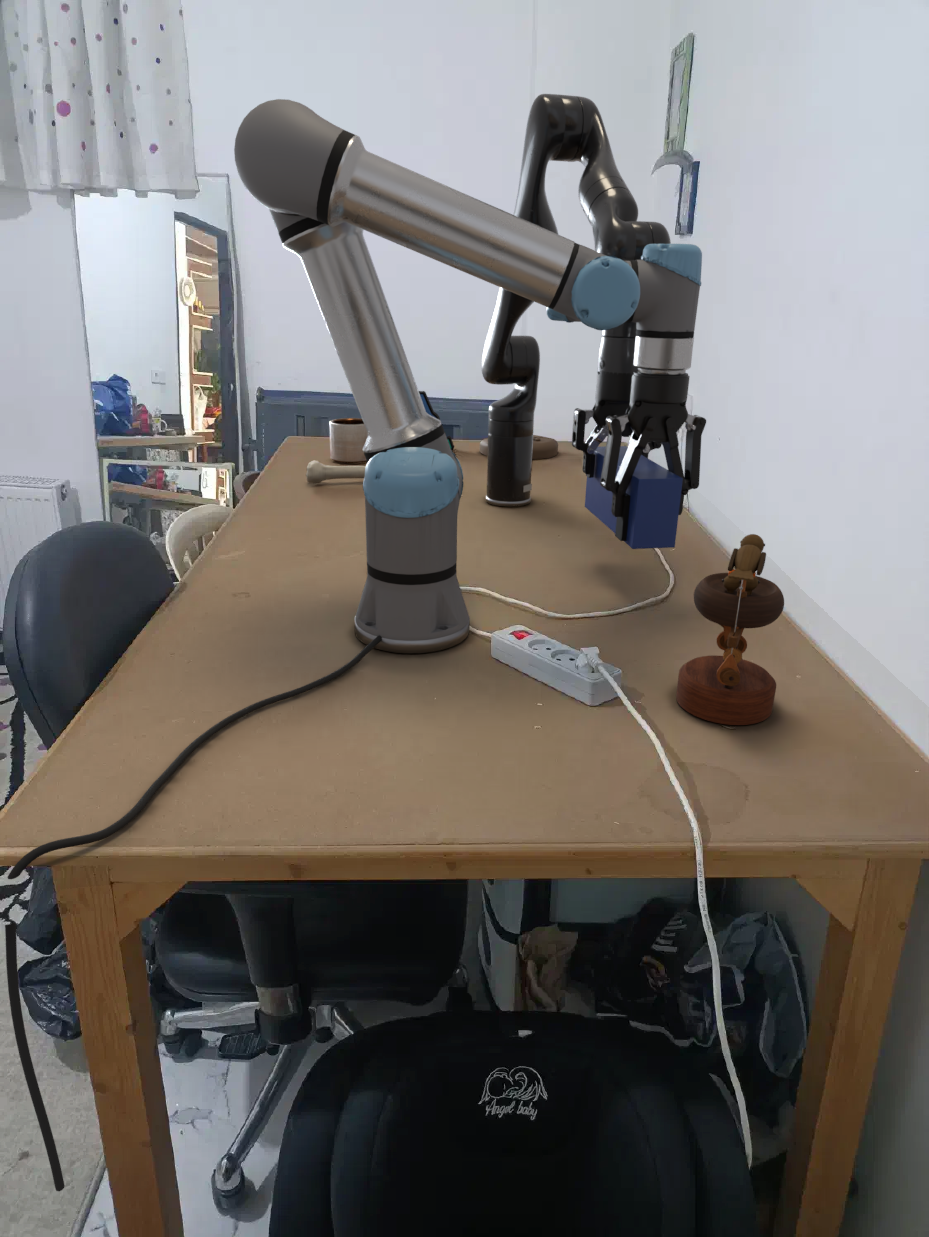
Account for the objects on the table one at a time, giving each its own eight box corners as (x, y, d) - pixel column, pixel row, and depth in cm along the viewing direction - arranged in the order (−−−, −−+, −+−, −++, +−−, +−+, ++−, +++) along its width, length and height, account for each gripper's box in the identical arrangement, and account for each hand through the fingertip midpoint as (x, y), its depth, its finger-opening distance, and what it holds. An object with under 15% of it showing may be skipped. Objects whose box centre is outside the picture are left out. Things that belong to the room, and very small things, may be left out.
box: (674, 547, 118) (683, 478, 114) (632, 549, 117) (638, 479, 113) (621, 505, 139) (626, 446, 135) (584, 506, 138) (588, 446, 134)
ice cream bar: (484, 468, 207) (485, 451, 205) (477, 446, 232) (478, 431, 231) (570, 469, 208) (571, 452, 206) (554, 447, 233) (554, 431, 232)
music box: (791, 736, 88) (807, 553, 81) (683, 736, 90) (689, 557, 82) (760, 672, 102) (771, 512, 95) (667, 673, 104) (671, 515, 96)
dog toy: (395, 478, 195) (394, 456, 193) (397, 484, 190) (397, 462, 188) (306, 480, 192) (305, 458, 190) (306, 486, 187) (305, 464, 185)
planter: (327, 456, 217) (325, 418, 214) (369, 454, 220) (368, 417, 217) (334, 465, 208) (332, 425, 204) (377, 463, 211) (376, 424, 207)
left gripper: (717, 367, 117) (696, 528, 126) (583, 367, 114) (571, 532, 123) (741, 373, 110) (718, 543, 119) (600, 373, 107) (586, 547, 116)
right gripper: (659, 365, 131) (648, 470, 137) (569, 365, 129) (563, 472, 135) (677, 370, 124) (666, 480, 130) (584, 370, 122) (576, 482, 128)
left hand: (644, 537), depth 121 cm, fingers closed on box, 6 cm apart
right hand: (613, 476), depth 133 cm, fingers open, 7 cm apart
